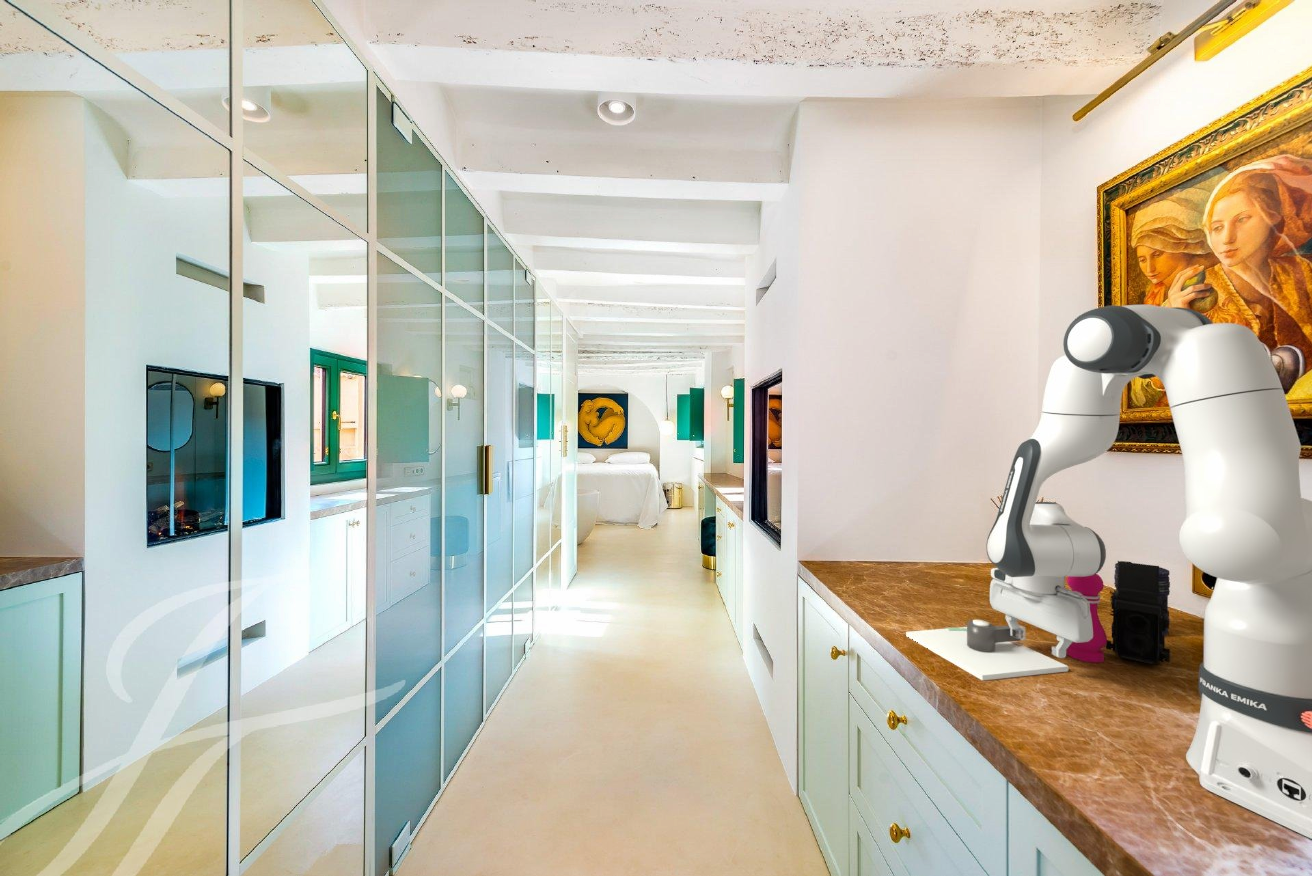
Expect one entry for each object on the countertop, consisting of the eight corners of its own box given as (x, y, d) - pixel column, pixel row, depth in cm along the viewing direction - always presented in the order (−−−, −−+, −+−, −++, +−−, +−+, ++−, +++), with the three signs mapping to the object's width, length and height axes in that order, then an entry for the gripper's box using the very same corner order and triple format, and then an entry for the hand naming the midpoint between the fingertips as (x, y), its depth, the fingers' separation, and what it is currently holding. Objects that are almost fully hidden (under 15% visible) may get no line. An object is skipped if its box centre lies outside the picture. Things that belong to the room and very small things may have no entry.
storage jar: (1182, 637, 120) (1182, 573, 120) (1139, 636, 120) (1139, 573, 120) (1142, 621, 130) (1143, 562, 130) (1102, 621, 130) (1103, 562, 130)
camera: (1104, 662, 107) (1105, 565, 107) (1107, 642, 117) (1108, 554, 117) (1172, 677, 100) (1173, 574, 100) (1169, 655, 110) (1170, 561, 110)
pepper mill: (1115, 665, 105) (1116, 568, 105) (1075, 662, 107) (1075, 566, 107) (1093, 650, 112) (1093, 559, 112) (1055, 648, 114) (1056, 558, 114)
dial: (980, 652, 109) (980, 627, 109) (961, 642, 114) (961, 618, 114) (1031, 647, 111) (1032, 622, 111) (1011, 638, 116) (1011, 614, 116)
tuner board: (1069, 671, 103) (1069, 665, 103) (982, 680, 99) (982, 674, 99) (979, 629, 125) (979, 624, 125) (905, 635, 121) (905, 630, 121)
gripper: (1102, 594, 96) (1101, 668, 96) (1008, 566, 116) (1007, 626, 116) (1075, 596, 95) (1074, 671, 95) (984, 567, 115) (983, 629, 115)
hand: (1036, 646), depth 106 cm, fingers open, 8 cm apart
